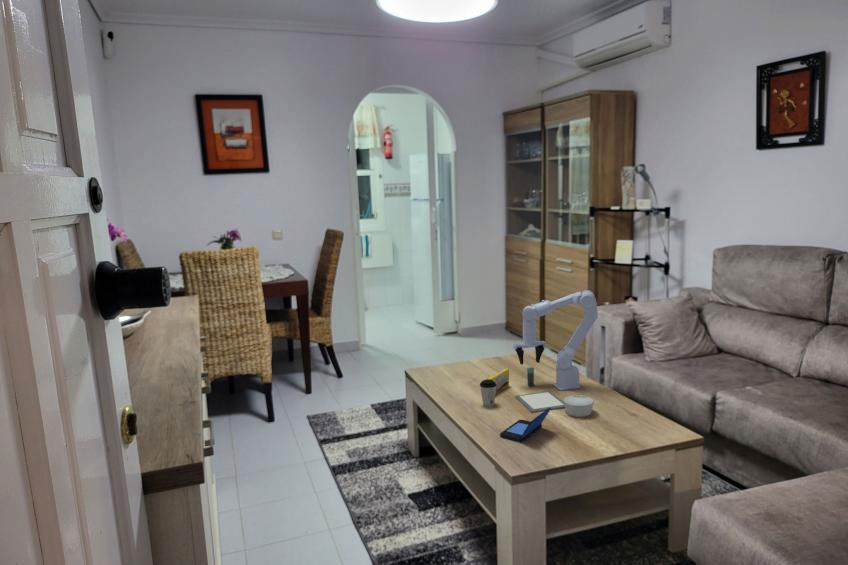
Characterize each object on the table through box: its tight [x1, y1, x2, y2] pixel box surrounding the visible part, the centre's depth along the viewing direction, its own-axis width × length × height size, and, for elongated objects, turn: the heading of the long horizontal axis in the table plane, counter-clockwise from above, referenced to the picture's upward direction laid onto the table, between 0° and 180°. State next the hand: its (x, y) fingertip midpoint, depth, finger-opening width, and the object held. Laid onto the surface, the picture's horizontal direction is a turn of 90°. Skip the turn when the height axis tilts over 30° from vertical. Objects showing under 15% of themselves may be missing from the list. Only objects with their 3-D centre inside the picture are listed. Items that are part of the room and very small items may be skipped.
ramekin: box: [563, 394, 594, 418], centre depth 224 cm, size 11×11×5 cm
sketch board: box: [514, 390, 565, 414], centre depth 237 cm, size 16×18×1 cm
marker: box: [526, 366, 535, 387], centre depth 256 cm, size 3×3×8 cm
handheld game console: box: [499, 408, 551, 443], centre depth 208 cm, size 16×13×9 cm
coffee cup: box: [479, 378, 496, 408], centre depth 236 cm, size 7×7×10 cm
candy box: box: [487, 368, 510, 395], centre depth 251 cm, size 16×2×8 cm, turn 143°
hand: (529, 363), depth 255 cm, fingers open, 7 cm apart
